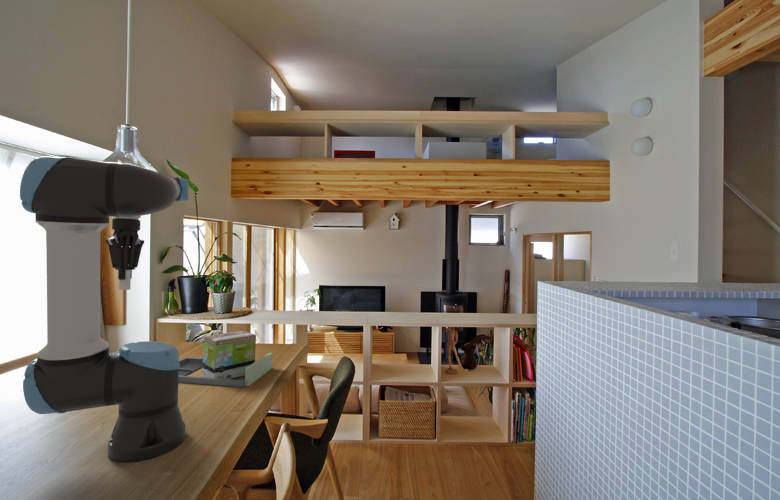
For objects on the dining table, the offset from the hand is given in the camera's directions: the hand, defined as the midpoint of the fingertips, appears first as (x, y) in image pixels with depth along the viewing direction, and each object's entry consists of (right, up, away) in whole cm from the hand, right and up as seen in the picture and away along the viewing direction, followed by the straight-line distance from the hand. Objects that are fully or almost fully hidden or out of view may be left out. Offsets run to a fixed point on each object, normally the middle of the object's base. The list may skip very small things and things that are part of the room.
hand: (124, 289), depth 118 cm
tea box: (+29, -33, +12) cm, 46 cm away
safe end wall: (+41, -33, +11) cm, 53 cm away
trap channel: (+23, -32, +13) cm, 41 cm away
